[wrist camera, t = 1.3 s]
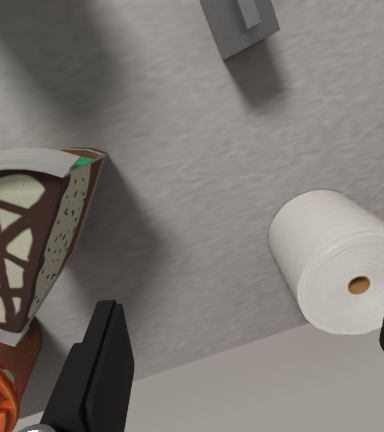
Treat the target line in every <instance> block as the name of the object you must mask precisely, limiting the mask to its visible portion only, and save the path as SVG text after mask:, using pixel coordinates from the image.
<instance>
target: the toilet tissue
mask: <svg viewBox="0 0 384 432" xmlns="http://www.w3.org/2000/svg"><path fill="white" fill-rule="evenodd" d="M269 248H270V251H271V253H272V256H273V258H274V260H275V261H276V263H277V266H278V267H279V269H280V271H281V273H282V275H283V276H284V278H285V280H286V282H287V285H288V287H289V289H290V290H291V293H292V294H293V296H294V299H295V300H296V302H297V304H298V306H299V307H300V310H301V311H302V313H303V315H304V316H305V318H306V319H307V320H308V321H309V322H310V323H312V324H313V325H314V326H315V327H316V328H318V329H321V330H324V331H326V332H328V333H330V334H340V335H341V334H342V335H362V334H366V333H368V332H371V331H373V330H376V329H378V328H381V327H382V323H383V318H384V221H383V220H382V219H381V218H379V217H378V216H376V215H375V214H373V213H372V212H370V211H369V210H367V209H366V208H364V207H363V206H361V205H360V204H358V203H357V202H355V201H354V200H352V199H351V198H349V197H347V196H346V195H344V194H342V193H339V192H335V191H331V190H315V191H310V192H307V193H303V194H301V195H299V196H297V197H295V198H293V199H292V200H291V201H289V202H288V203H286V204H285V205H284V206H283V207H282V208H281V209H280V210H279V212H278V213H277V215H276V216H275V218H274V220H273V222H272V224H271V226H270V231H269Z"/></svg>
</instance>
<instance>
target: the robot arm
mask: <svg viewBox="0 0 384 432" xmlns="http://www.w3.org/2000/svg"><path fill="white" fill-rule="evenodd" d="M379 341H380V345H381V347H382V349H383V351H384V318H383V323H382V328H381V333H380V339H379ZM133 375H134V358H133V354H132V349H131V344H130V339H129V335H128V330H127V325H126V321H125V316H124V311H123V307H122V304H117V302H116V300H107V301H99V302H98V303H97V305H96V308H95V310H94V313H93V315H92V318H91V321H90V323H89V326H88V328H87V331H86V334H85V336H84V339H83V341H82V343H75V344H74V345H73V346H72V348H71V350H70V352H69V354H68V357H67V359H66V362H65V364H64V366H63V369H62V371H61V373H60V376H59V378H58V381H57V383H56V385H55V388H54V390H53V392H52V395H51V397H50V400H49V402H48V404H47V407H46V409H45V411H44V414H43V416H42V419H41V421H40V423H39V424H35V425H32V426H28V427H26V428H24V429H23V430H20V431H19V432H124V428H125V423H126V417H127V410H128V405H129V399H130V393H131V386H132V381H133Z"/></svg>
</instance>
